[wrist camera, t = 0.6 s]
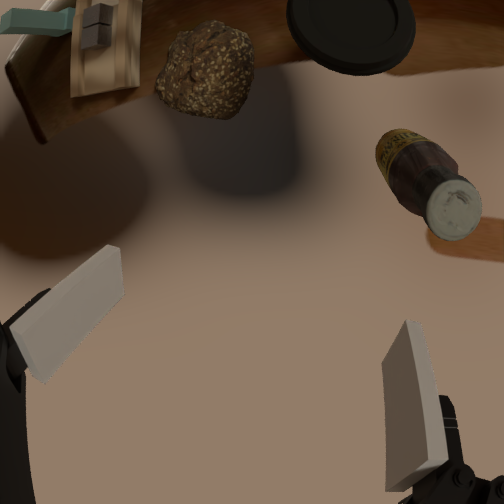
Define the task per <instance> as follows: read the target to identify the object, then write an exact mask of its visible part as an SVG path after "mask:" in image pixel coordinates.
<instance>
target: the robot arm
mask: <svg viewBox="0 0 504 504" xmlns="http://www.w3.org/2000/svg"><path fill="white" fill-rule="evenodd" d="M124 295H125V294H124V286H123V276H122V266H121V255H120V248H118V247H114V246H111V245H106V246H105V247H104V248H102V249H101V250H100V251H98V252H97V253H96V254H95V255H93V256H92V257H91V258H90V259H88V260H87V261H86V262H85V263H83V264H82V265H81V266H79V267H78V268H77V269H76V270H75V271H73V272H72V273H71V274H70V275H68V276H67V277H66V278H65V279H63V280H62V281H61V282H60V283H58V285H56V286H55V287H54V288H53V289H50V288H48V289H46V290H44V291H42V292H40V293H38V294H37V295H36V296H35V297H33V298H32V299H31V301H29V302H28V303H26V304H25V306H23V307H22V308H21V309H20V310H18V312H16V313H15V314H14V315H13V316H12V317H11V318H10V319H9V320H7V321H6V322H5V323H4V324H3V325H2V324H1V322H0V504H36V501H35V496H34V490H33V484H32V478H31V471H30V463H29V453H28V442H27V428H26V376H25V372H24V371H25V369H26V368H27V367H28V368H29V370H30V372H31V374H32V376H33V377H35V378H36V379H38V380H39V381H41V382H42V383H44V384H46V382H47V381H48V380H49V379H50V378H51V377H52V375H53V374H54V373H55V372H56V371H57V370H58V368H59V367H60V366H61V365H62V364H63V362H64V361H65V360H66V359H67V358H68V357H69V356H70V354H71V353H72V352H73V351H74V350H75V349H76V348H77V346H78V345H79V344H80V343H81V342H82V341H83V340H84V339H85V337H86V336H87V335H88V334H89V333H90V332H91V331H92V330H93V329H94V328H95V326H96V325H97V324H98V323H99V322H100V321H101V320H102V319H103V318H104V316H105V315H106V314H107V313H108V312H109V311H110V310H111V309H112V308H113V307H114V306H115V305H116V304H117V303H118V302H119V300H120V299H121V298H122V297H123V296H124ZM382 372H383V386H384V402H385V425H386V486H385V491H386V492H404V491H405V490H407V489H409V488H410V487H413V494H411V495H409V496H408V497H406V498H404V499H403V500H401V501H400V502H399V503H398V504H402V503H403V504H504V476H503V475H501V476H498V477H497V478H495V479H494V480H492V481H488V480H485V479H481V478H478V477H475V474H474V471H473V470H472V469H471V468H470V466H468V465H466V464H464V461H463V455H462V448H461V442H460V436H459V430H458V429H457V427H458V425H457V420H456V414H455V410H454V406H453V404H452V402H451V401H450V399H449V398H448V396H444V395H438V391H437V386H436V381H435V377H434V372H433V368H432V364H431V360H430V356H429V352H428V348H427V344H426V340H425V336H424V333H423V329H422V326H421V323H420V322H415V321H410V320H405V322H404V324H403V326H402V328H401V329H400V331H399V333H398V335H397V337H396V339H395V341H394V342H393V344H392V346H391V348H390V349H389V351H388V353H387V355H386V357H385V358H384V360H383V362H382Z"/></svg>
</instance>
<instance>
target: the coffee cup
mask: <svg viewBox="0 0 504 504" xmlns="http://www.w3.org/2000/svg"><path fill="white" fill-rule="evenodd" d="M286 18H287V23H288V28H289V30H290V32H291V35H292V37H293V39H294V40H295V42H296V43H297V45H298V46H299V48H300V49H301V50H302V51H303V52H304V53H305V54H306V55H307V56H308V57H310V58H311V59H312V60H314V61H315V62H317V63H318V64H320V65H322V66H324V67H326V68H328V69H329V70H332V71H335V72H339V73H342V74H347V75H353V76H369V75H374V74H379V73H382V72H385V71H387V70H390V69H392V68H393V67H395V66H396V65H398V64H399V63H400V62H401V61H402V60H403V59H404V58H405V57H406V56H407V55H408V53H409V51H410V49H411V47H412V45H413V42H414V38H415V33H416V22H415V18H414V13H413V10H412V8H411V6H410V4H409V1H408V0H288V2H287V10H286Z"/></svg>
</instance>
